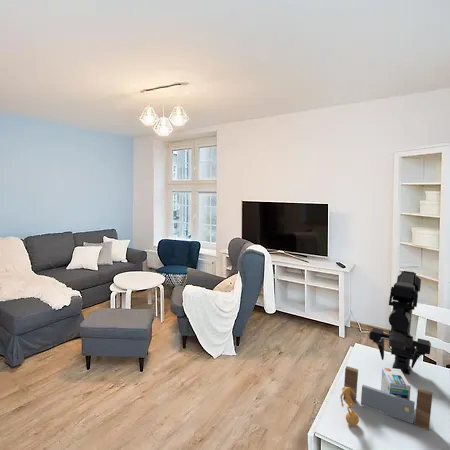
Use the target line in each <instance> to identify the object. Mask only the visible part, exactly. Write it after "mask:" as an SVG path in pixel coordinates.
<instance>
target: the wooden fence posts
mask: <svg viewBox="0 0 450 450" xmlns="http://www.w3.org/2000/svg"><path fill="white" fill-rule="evenodd" d="M344 369H345V371H344V383H343V387H350V388H351V389H352V390H353V392H354V393H355V394H356V396H357V391H358V378H359V368H355V367H352V366H348V365H346V367H345V368H344ZM353 392H352V391H350V397H351V399H352V401H353V403H354V404H356V402H357V398H356V396H355V394H353ZM433 394H434V393H433V392H432V391H430V390H426V389H422V388H420V387H418V388H417V396H416V403H415V416H414V426H416V427H418V428H421V429H423V430H427V431H430V425H431V423H430V422H431V413H432V405H433V404H432V403H433ZM345 399H346V397H345V395H343V396H342V400H343V401H345Z"/></svg>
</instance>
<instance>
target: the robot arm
mask: <svg viewBox="0 0 450 450" xmlns="http://www.w3.org/2000/svg"><path fill="white" fill-rule="evenodd" d="M421 285H422V279H421V278H420V277H419V276H418V275H417V273H416V272H414V271H410V270H409V271H408V270H401V272H400V274H399V275H397V279H396V282H395V283H394V284H393V286H391V288H390V295H389V298H388V299H389V300H388V306H392V311H391V312H390V314H389V316H388V323H389V325H390V330H389V333H384V329H382V328H377V327H376V328H375V327H372V328H371V330H370V331H369V334H368V335H369V336H368V339H369V340H370V341H372V342H373V343H375V344H376V346H377V347H378V351H379V354H380V358H381V360H382V361H383V360H384V358H385V341H386V340H387V341H388V342H389V343H388V346H389V347H391V348H390V349H391V350H390V354H391V355H393V356H394V362H393V365H392V367H391V368H394V369H401V371H402V373H403V374H407V375H410V374H411V369H413V368H414V366H415V364H416V363H417V360H419V358H420V357H421V356H425V355H431V348H432V347H431V346H432V343H431V341H430V340H427V339H424V338H417V340H414V337H413V335H411V327H412V314H413V311H414V310H415V308H417V306H418V300H419V293H420V292H421V288H422V286H421ZM411 361H412V362H411ZM410 363H411V366H410Z"/></svg>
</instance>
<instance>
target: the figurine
mask: <svg viewBox="0 0 450 450" xmlns="http://www.w3.org/2000/svg"><path fill="white" fill-rule="evenodd" d="M341 390H342V392H341V394H340V397H339V398H340V402H341V404H340V405H341V408H344V403H343V401H345V403H346V404H347V406H346V407H347V411H348V412H347V413H346V415H345V421H346V423H347V424H348V425H349V426H350V427H351V426H352V427H354V426H355V427H356V426H357V425H358V424H359V421H360V417H359V415H358V414H357V413H356V412H355V411H354V410H353V408H352V407H353V406H355V403H353V401H352V399H351V397H350V391H352V392H353V390H352V389H351V388H350V387H344V386H343V387H342V389H341ZM353 394H355V393H354V392H353ZM344 395H345V397H346V399H345V400H344V399H343V397H344ZM355 396H356V399H357V398H358V396H357V395H356V394H355Z"/></svg>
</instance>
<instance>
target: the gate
mask: <svg viewBox="0 0 450 450" xmlns="http://www.w3.org/2000/svg"><path fill="white" fill-rule="evenodd" d="M360 405H362V406H363V407H366V408H369V409H372V410H374V411H377V412H379V413H383V414H386V415H387V416H391V417H393V418H396V419H399V420H402V421H405V422H408V423H410V424H414V418H415V416H414V413H415V407H416V402H415V401H414V400H408V399H405V398H402V397H399V396H396V395H393V394H390V393H387V392H384V391H381V389H377V388H374V387H371V386H368V385H365V384H362V386H361V398H360Z"/></svg>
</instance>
